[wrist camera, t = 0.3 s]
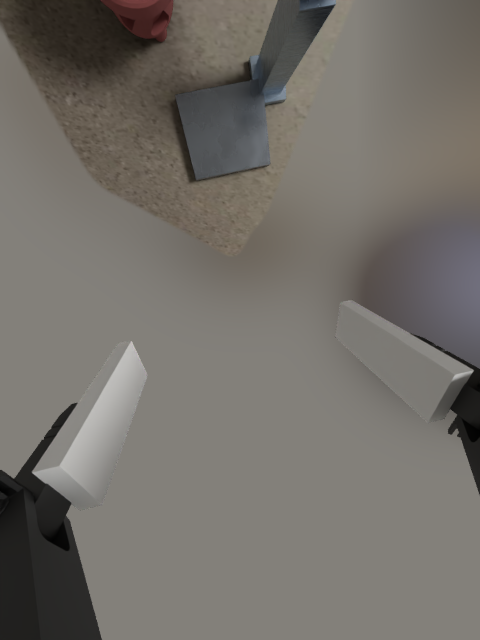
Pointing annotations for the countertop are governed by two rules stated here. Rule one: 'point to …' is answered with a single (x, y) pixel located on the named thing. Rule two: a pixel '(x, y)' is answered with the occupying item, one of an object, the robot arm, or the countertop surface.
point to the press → (249, 95)
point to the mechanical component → (143, 16)
